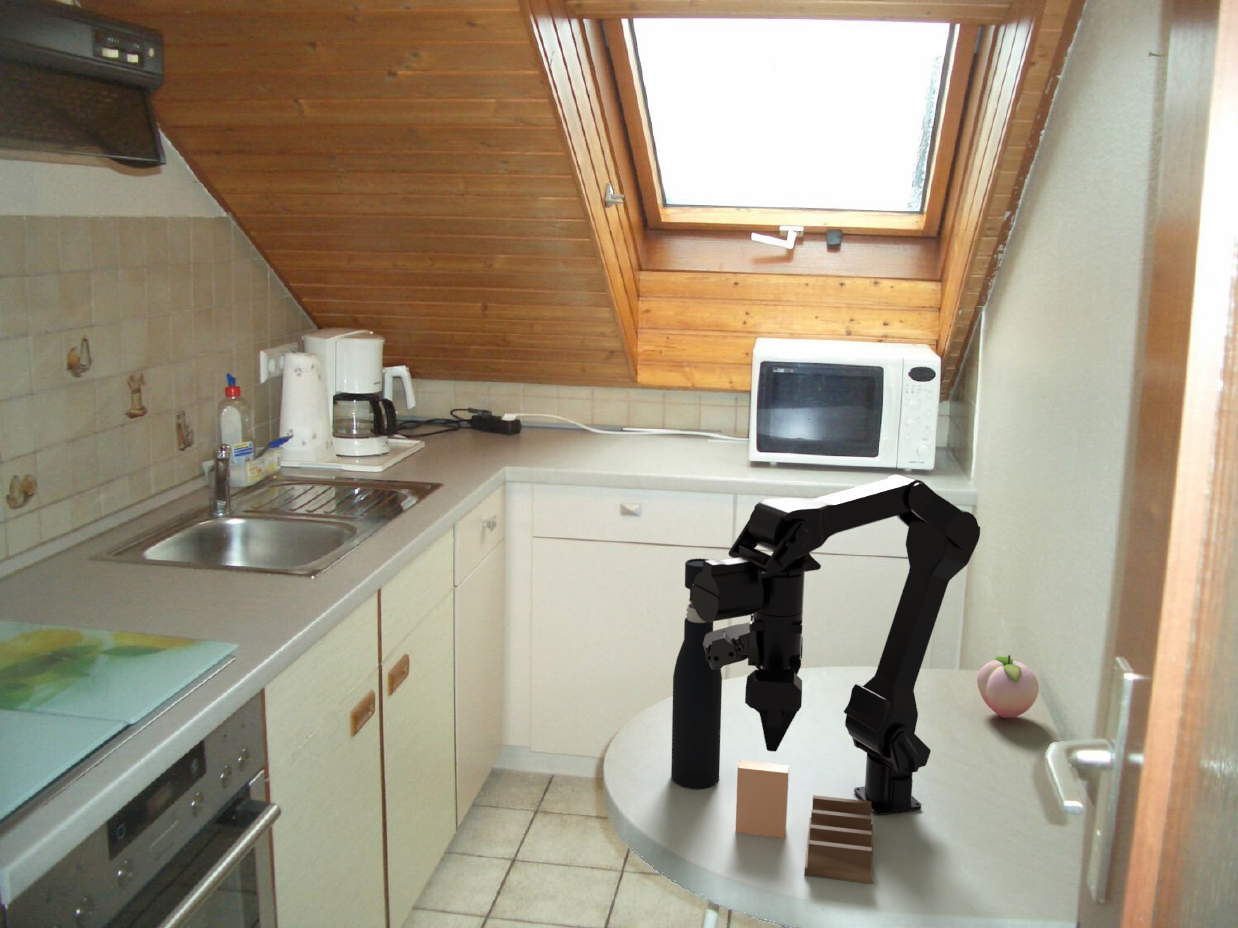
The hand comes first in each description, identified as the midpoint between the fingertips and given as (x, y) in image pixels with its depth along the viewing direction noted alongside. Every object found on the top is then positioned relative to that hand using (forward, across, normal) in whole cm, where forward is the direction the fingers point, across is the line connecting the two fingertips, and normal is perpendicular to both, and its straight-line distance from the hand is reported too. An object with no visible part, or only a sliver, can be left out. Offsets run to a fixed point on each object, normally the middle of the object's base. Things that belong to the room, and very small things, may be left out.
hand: (772, 733), depth 135 cm
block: (+13, -1, -1) cm, 13 cm away
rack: (+13, +3, +8) cm, 16 cm away
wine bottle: (+13, -13, -10) cm, 21 cm away
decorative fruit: (+13, -41, +34) cm, 55 cm away
